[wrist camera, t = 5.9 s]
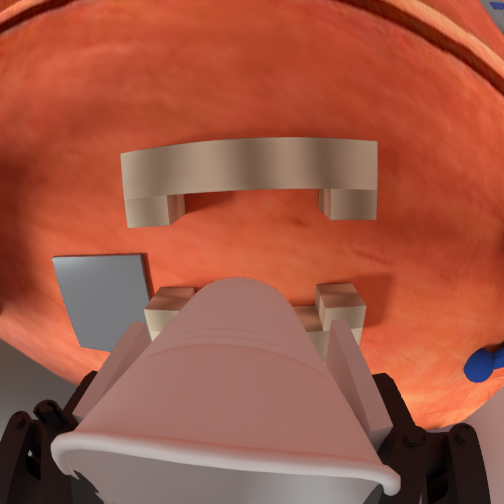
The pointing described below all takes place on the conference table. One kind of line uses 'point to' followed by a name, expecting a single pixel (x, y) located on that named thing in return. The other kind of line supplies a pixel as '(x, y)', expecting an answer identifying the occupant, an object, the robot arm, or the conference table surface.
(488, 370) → the toy
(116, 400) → the cup
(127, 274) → the coaster
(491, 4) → the remote control
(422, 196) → the conference table surface
